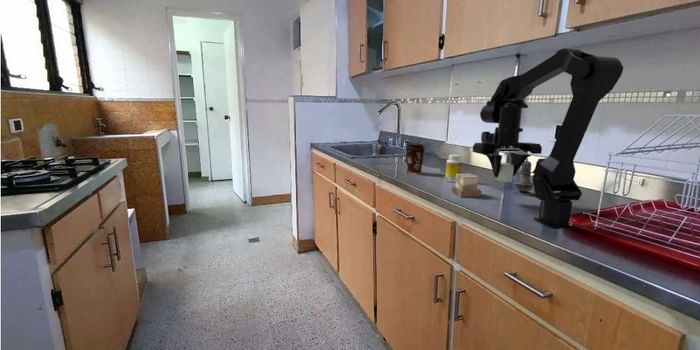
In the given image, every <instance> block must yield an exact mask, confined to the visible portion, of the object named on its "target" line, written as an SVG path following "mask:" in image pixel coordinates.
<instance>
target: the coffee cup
mask: <svg viewBox="0 0 700 350" xmlns="http://www.w3.org/2000/svg"><path fill="white" fill-rule="evenodd" d="M405 145H406V146H405V150H406V153H405V160H406V166H407V170H406V173H407V172H408V173H407V174H409V173H418V174H417V175H420V174H419V173H421V174H422V168H423V167H422V166H423V161H424V153H425V149H426V148H425V146H424V144H423V143H419V142H418V143H417V142H410V143H409V142H408V143H406V144H405Z"/></svg>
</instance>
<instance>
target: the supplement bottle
mask: <svg viewBox="0 0 700 350" xmlns="http://www.w3.org/2000/svg"><path fill="white" fill-rule="evenodd" d="M460 157H461V156H460V155H459V154H449V155H448V159H447V160H446V164H445V167H446V168H445V181H446V182H449V183H450V182H451V183H456V174H462V171H461V170H462V160H460V159H461V158H460Z"/></svg>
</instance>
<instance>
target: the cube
mask: <svg viewBox="0 0 700 350" xmlns="http://www.w3.org/2000/svg"><path fill="white" fill-rule="evenodd" d="M478 183H479V176H478V175H475V174H472V173H461V174H456V182H455V186H456V188H458V189H460V190H462V191H467V190H477V189H478Z"/></svg>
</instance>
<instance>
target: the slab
mask: <svg viewBox="0 0 700 350" xmlns="http://www.w3.org/2000/svg"><path fill="white" fill-rule="evenodd" d="M450 191H451V192H450V193H452V194H454V195H456V196H457V197H460V198H481V197H482V193H483V192H482V190H481V189H479V188H477V190H467V191H462V190H460V189H458V188H456V185H454V186H453V185H451V190H450Z"/></svg>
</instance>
